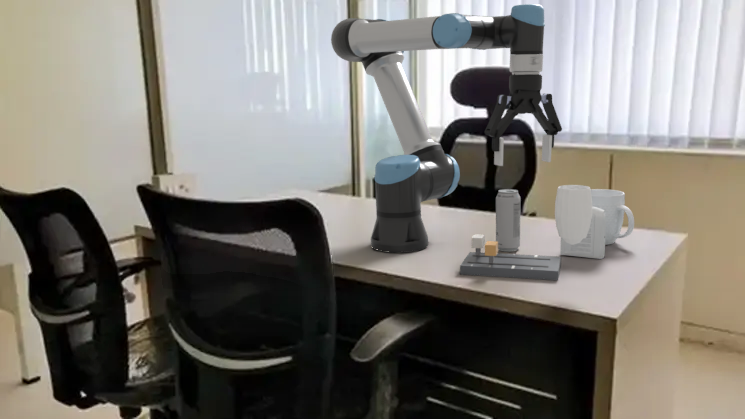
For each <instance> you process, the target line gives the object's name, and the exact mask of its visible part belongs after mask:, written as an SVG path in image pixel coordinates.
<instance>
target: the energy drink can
mask: <svg viewBox="0 0 745 419" xmlns="http://www.w3.org/2000/svg"><path fill="white" fill-rule="evenodd" d="M495 241H498V251H501V252H507V253H508V252H510V253H511V252H516V251H519V248H520V247H521V196H520V194H519V190H518V189H511V188H507V189H506V188H505V189H499V190H498V192H497V194H496V197H495Z"/></svg>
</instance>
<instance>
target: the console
mask: <svg viewBox="0 0 745 419" xmlns="http://www.w3.org/2000/svg"><path fill="white" fill-rule="evenodd" d="M561 266H562V256H557V255H556V256H555V255H538V254H519V253H517V254H516V253H499V252H498V253H497V255H496V256H494V263H489V256H485V252H481V254H480V255H476V251H475V252H474V251H469V252H468V254H467V255H466V257H465V258H464V260H463V261H462V262H461V263H460V265H459V275H466V276H481V277H483V276H484V277H500V278H514V279H516V278H517V279H529V280H530V279H531V280H547V281H548V280H549V281H559V276H560V271H561Z"/></svg>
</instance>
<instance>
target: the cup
mask: <svg viewBox="0 0 745 419" xmlns="http://www.w3.org/2000/svg"><path fill="white" fill-rule="evenodd" d="M555 196H556V197H555V202H554V203H555V204H554V220H555V227H556V230H557V234H558V237H560V239H561V238H563V239H564V241H565V242H566V243H569V244H571V245H574V244H577V243H580V242H581V241H582V239H584V238H586V237H587V234H588V231H589V228H590V224H591V219H592V197H591V187H590V186H588V185H582V184H565V185H564V184H562V185H559V186H558V187H557V190H556V195H555Z"/></svg>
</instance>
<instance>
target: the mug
mask: <svg viewBox="0 0 745 419" xmlns="http://www.w3.org/2000/svg"><path fill="white" fill-rule="evenodd" d="M590 189H591V188H590ZM591 197H592V206H593V207H597V208H600V209H602V210H604V211H605V216H606V232H605V246H606V245H607V246H609V245H613V244H614V243H615V242H616V241H617V240H618V239H623V238H627V237H628V236H630V235H631V234H632V233H633V231H634V228H635V218H634V214H633V211H632V210H631V209H630V208H629V207H628V206H626V205H625V204H626V203H625V202H626V201H625V200H626V199H625V198H626V194H625V192H624V191H621V190H617V189H605V188H602V189H601V188H595V189H594V188H592V189H591ZM624 215H626V217H627V221H628V224H627V225H628V226H627V230H626V232H624V233H622V234H620V233H621V231H622V228H623V223H624Z"/></svg>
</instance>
